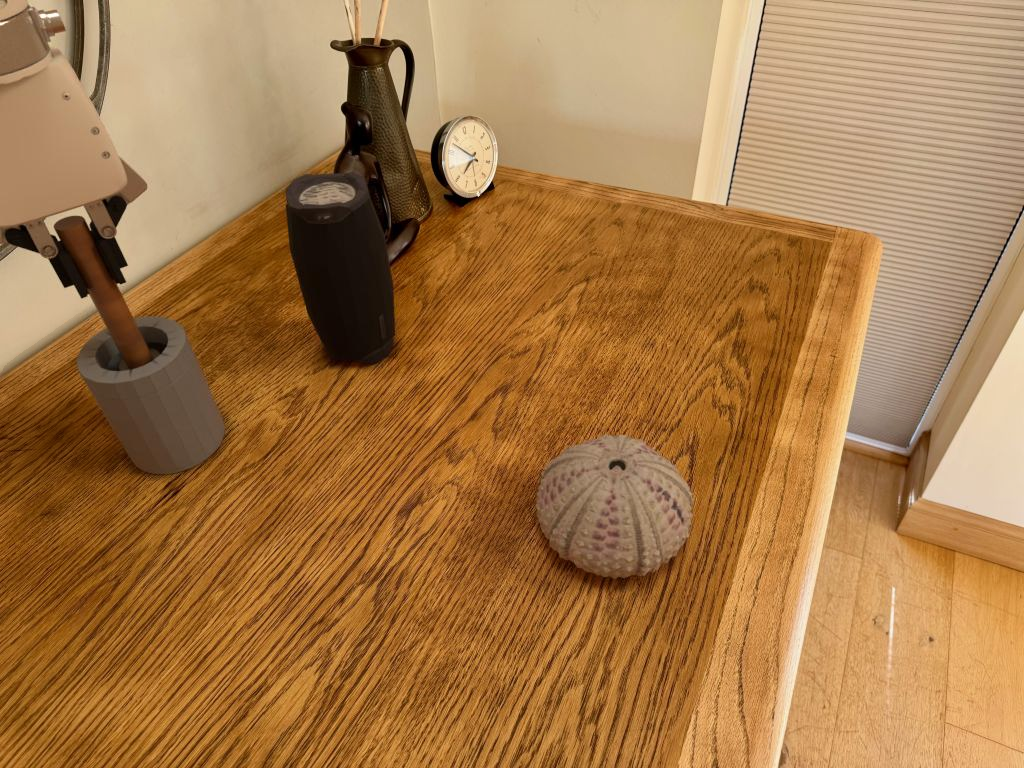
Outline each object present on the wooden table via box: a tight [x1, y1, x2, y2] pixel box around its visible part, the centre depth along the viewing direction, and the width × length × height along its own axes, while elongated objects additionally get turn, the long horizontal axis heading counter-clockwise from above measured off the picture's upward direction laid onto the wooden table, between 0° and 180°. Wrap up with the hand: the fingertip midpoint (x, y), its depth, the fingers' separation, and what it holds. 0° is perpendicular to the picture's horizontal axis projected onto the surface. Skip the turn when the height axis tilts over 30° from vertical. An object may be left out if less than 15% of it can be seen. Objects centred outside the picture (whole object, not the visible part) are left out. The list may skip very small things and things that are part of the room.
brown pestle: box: [53, 215, 161, 371], centre depth 61 cm, size 4×4×18 cm
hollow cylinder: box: [76, 315, 226, 475], centre depth 68 cm, size 9×9×12 cm
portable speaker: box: [285, 171, 396, 366], centre depth 75 cm, size 9×9×20 cm
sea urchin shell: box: [534, 433, 696, 580], centre depth 61 cm, size 13×14×8 cm
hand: (98, 281), depth 59 cm, fingers closed on brown pestle, 2 cm apart
